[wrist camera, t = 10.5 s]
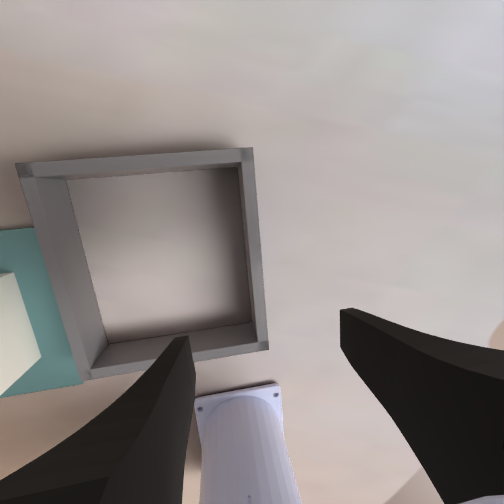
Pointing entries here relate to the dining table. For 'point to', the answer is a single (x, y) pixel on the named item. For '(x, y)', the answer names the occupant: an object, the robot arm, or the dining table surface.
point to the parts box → (14, 334)
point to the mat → (38, 314)
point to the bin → (77, 273)
